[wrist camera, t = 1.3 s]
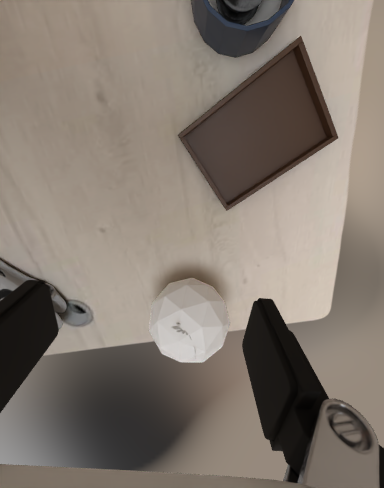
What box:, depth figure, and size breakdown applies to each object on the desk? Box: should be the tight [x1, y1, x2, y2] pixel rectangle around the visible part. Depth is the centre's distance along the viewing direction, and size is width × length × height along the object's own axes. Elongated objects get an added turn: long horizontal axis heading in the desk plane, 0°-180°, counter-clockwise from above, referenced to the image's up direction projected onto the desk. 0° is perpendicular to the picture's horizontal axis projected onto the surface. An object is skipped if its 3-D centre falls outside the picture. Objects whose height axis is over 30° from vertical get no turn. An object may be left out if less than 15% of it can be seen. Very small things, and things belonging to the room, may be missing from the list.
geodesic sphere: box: [149, 278, 230, 362], centre depth 36 cm, size 15×14×14 cm
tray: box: [178, 36, 338, 210], centre depth 30 cm, size 13×18×2 cm
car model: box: [0, 260, 67, 329], centre depth 40 cm, size 11×24×5 cm, turn 46°
